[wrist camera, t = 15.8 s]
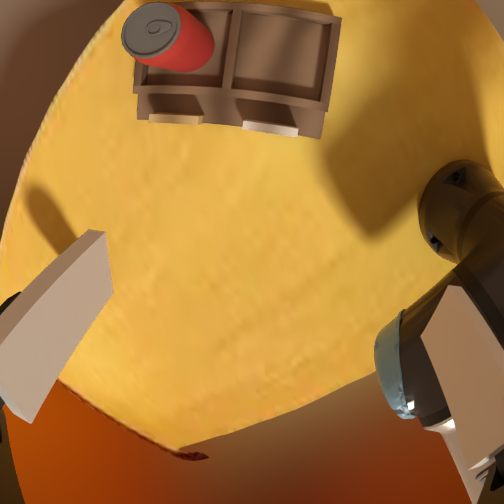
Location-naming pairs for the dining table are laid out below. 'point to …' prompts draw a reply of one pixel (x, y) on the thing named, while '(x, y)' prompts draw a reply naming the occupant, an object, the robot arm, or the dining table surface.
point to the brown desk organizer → (249, 72)
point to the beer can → (167, 37)
